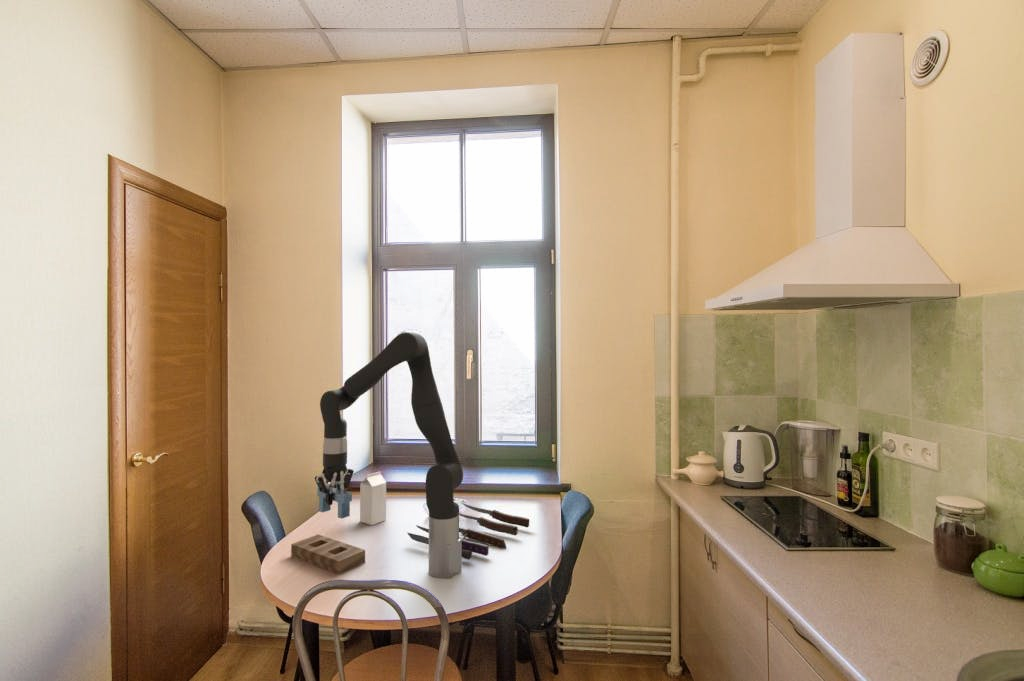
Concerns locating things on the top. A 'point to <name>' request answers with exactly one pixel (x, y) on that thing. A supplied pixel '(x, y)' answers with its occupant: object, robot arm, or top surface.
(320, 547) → the socket block
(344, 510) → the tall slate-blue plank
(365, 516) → the milk carton
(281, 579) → the top surface
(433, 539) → the robot arm
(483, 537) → the knife set
